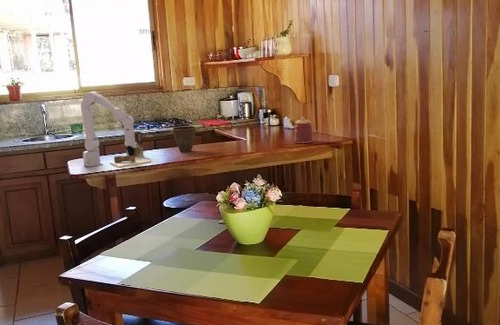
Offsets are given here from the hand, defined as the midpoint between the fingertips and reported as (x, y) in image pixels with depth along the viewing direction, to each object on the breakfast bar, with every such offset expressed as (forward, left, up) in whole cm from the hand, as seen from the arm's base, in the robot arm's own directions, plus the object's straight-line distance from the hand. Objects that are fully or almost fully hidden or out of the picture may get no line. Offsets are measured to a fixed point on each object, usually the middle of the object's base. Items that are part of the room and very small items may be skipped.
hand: (131, 158), depth 312 cm
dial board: (-1, 0, -3) cm, 3 cm away
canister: (+114, -25, -3) cm, 117 cm away
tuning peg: (-4, +1, -2) cm, 4 cm away
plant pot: (+41, +9, -3) cm, 42 cm away
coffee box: (+9, +18, -3) cm, 21 cm away
